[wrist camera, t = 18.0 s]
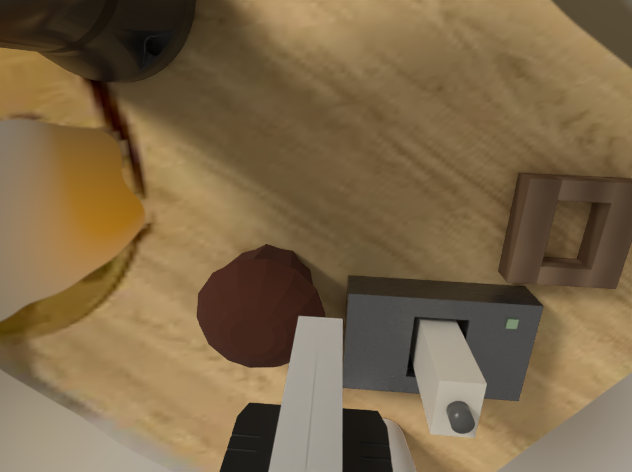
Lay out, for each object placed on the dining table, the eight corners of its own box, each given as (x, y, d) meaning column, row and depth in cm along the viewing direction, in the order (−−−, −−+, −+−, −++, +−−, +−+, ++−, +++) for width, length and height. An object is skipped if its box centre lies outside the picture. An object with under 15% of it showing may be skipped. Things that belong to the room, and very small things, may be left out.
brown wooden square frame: (497, 271, 41) (507, 282, 38) (518, 172, 37) (530, 178, 35) (600, 277, 40) (616, 289, 38) (630, 178, 37) (650, 184, 34)
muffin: (224, 329, 45) (193, 392, 36) (209, 236, 41) (170, 279, 32) (330, 327, 44) (327, 390, 35) (324, 231, 40) (319, 274, 31)
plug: (408, 346, 44) (434, 449, 32) (414, 303, 43) (444, 394, 30) (441, 349, 44) (480, 453, 32) (448, 305, 42) (493, 398, 30)
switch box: (342, 363, 46) (341, 389, 42) (348, 275, 42) (348, 294, 38) (503, 375, 45) (519, 402, 41) (525, 286, 41) (544, 307, 37)
